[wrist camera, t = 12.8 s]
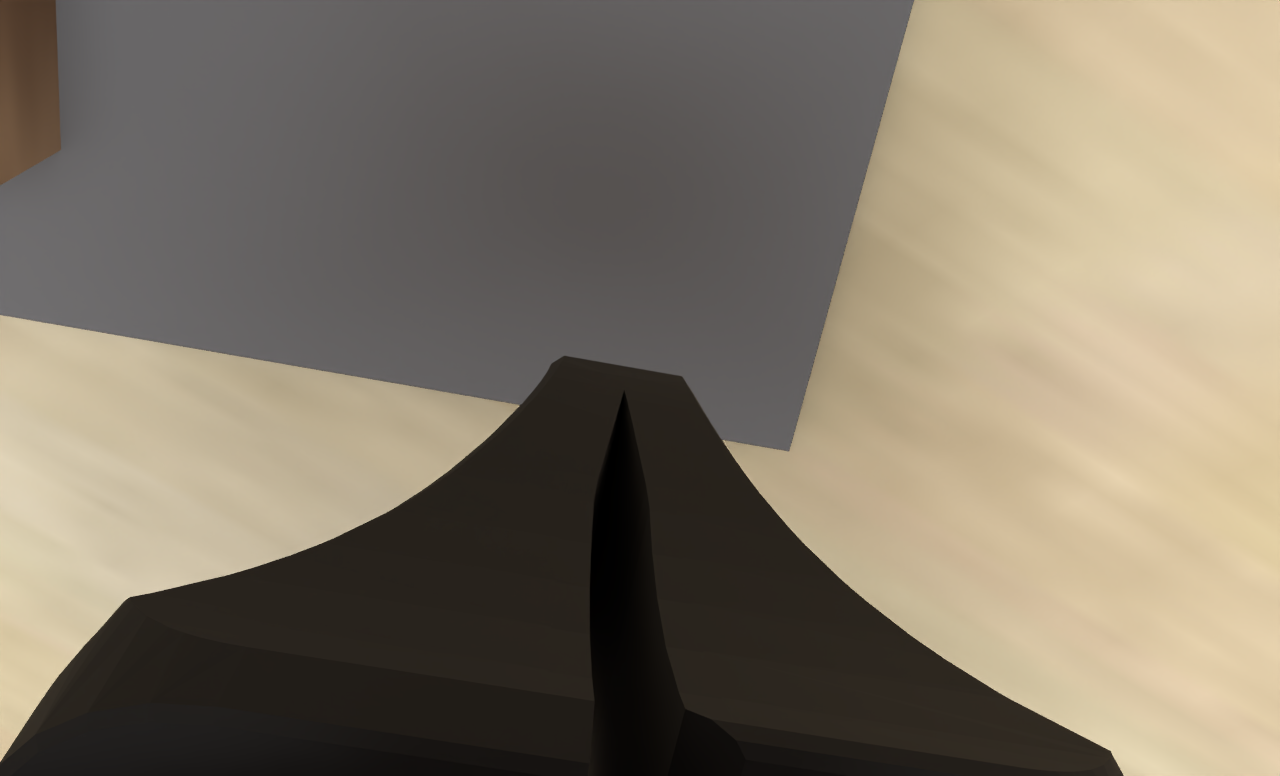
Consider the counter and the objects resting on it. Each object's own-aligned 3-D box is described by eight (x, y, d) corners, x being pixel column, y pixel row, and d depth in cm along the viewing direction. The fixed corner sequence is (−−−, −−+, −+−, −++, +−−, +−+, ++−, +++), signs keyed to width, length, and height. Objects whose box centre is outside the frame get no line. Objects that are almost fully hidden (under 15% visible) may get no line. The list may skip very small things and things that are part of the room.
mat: (787, 444, 24) (789, 451, 24) (-397, 238, 23) (-410, 243, 22) (987, -284, 18) (992, -285, 18) (-583, -621, 17) (-603, -628, 17)
